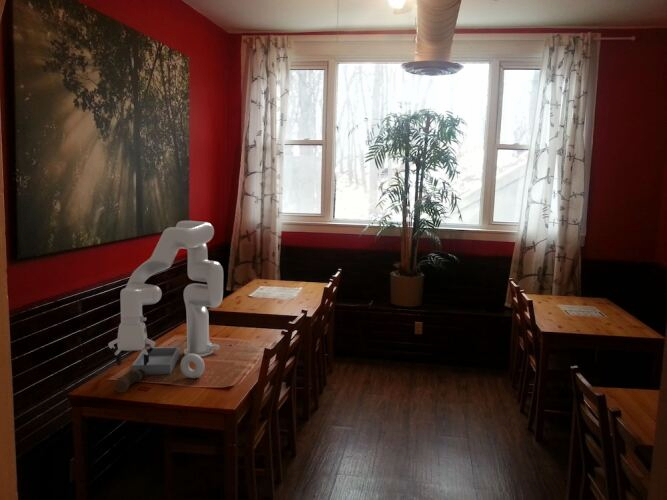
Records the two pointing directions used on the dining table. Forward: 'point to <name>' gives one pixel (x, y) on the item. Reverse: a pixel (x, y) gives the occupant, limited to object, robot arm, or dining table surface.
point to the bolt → (128, 380)
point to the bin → (158, 360)
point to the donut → (187, 370)
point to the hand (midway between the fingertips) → (132, 364)
